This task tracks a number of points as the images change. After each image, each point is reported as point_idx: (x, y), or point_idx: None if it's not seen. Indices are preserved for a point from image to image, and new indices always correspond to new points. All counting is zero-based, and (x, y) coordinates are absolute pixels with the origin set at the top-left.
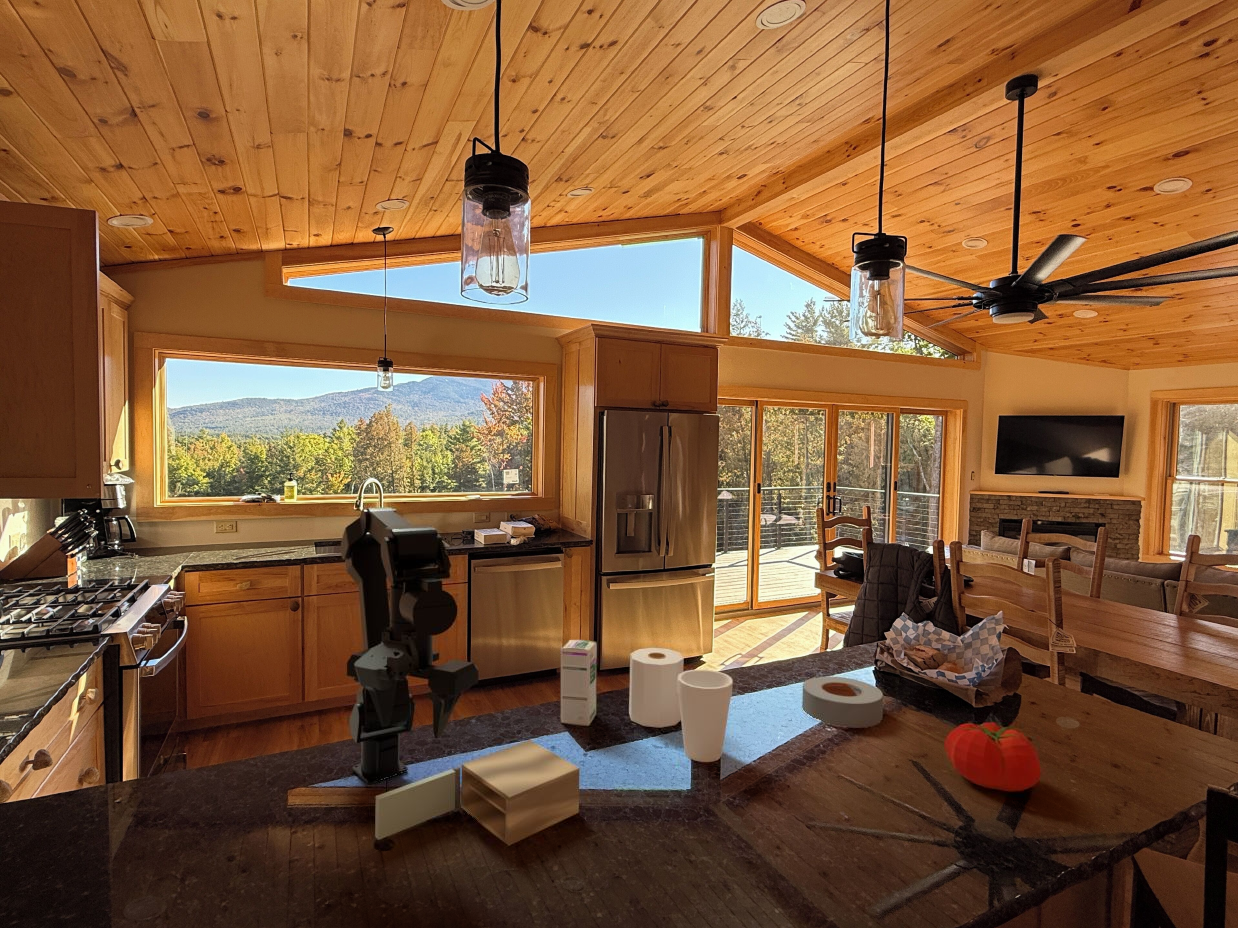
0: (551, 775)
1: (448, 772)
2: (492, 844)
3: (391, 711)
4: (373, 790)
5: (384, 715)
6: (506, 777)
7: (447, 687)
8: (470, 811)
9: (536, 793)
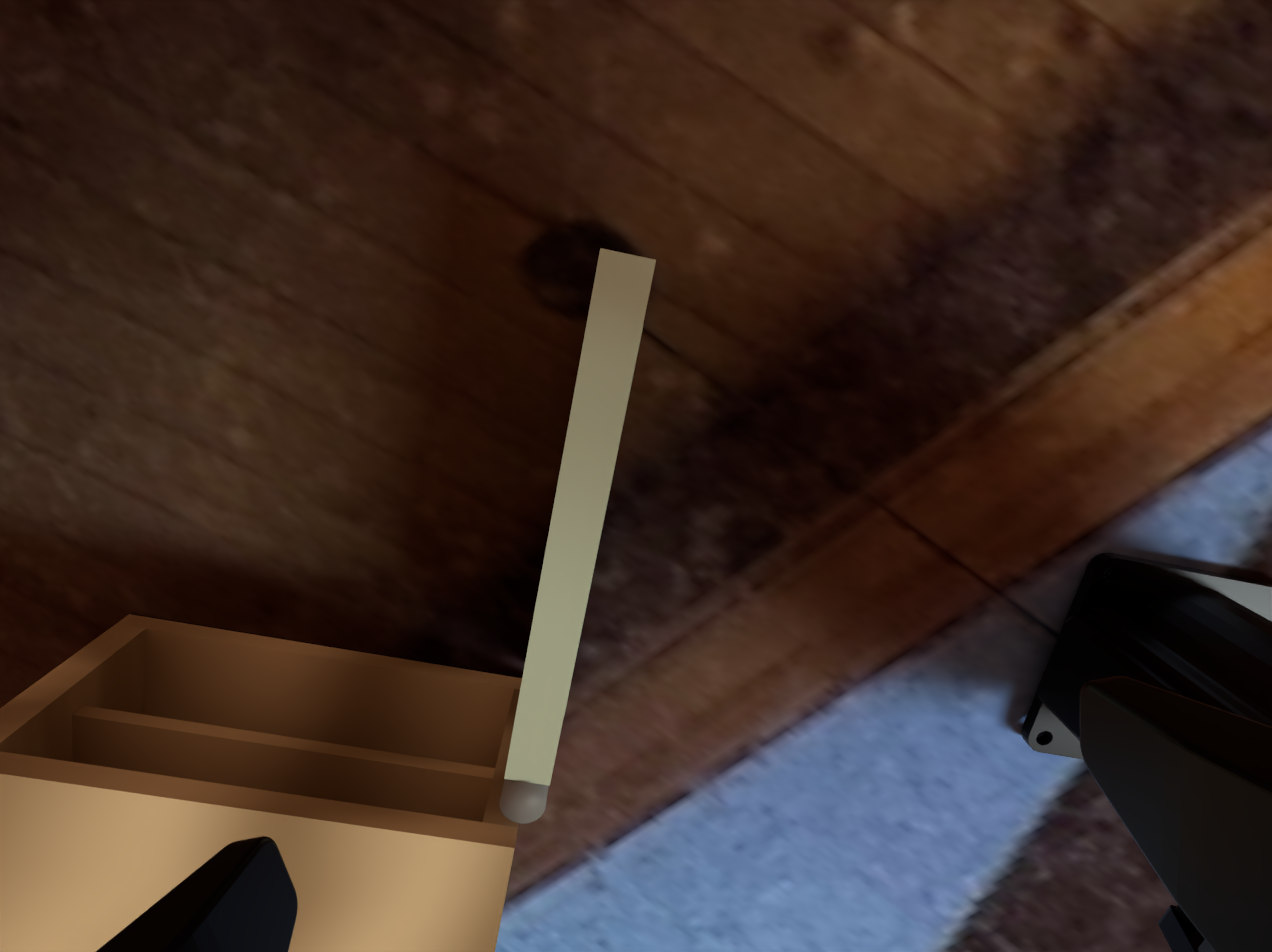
0: None
1: (530, 747)
2: (191, 579)
3: (1192, 911)
4: (1032, 535)
5: (1192, 783)
6: (153, 894)
7: None
8: (455, 678)
9: None
